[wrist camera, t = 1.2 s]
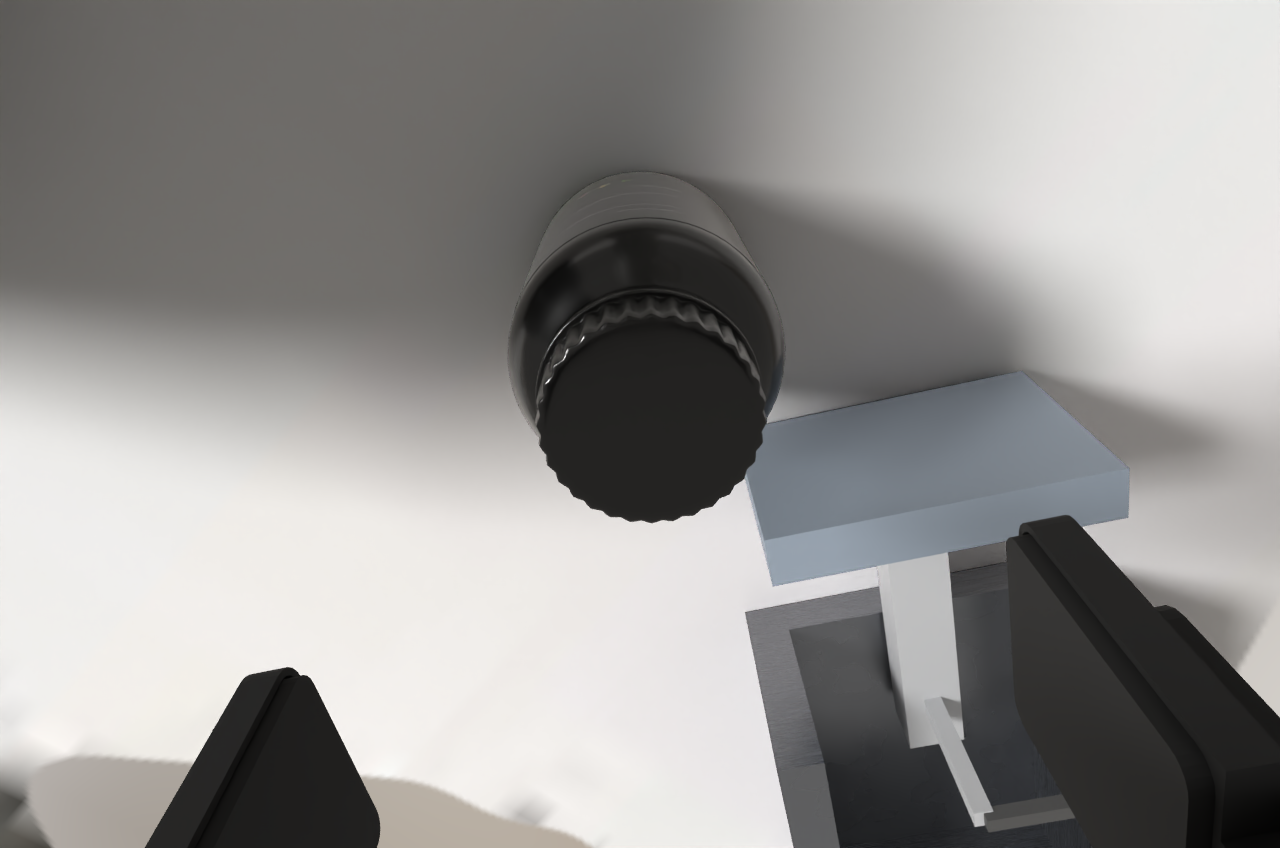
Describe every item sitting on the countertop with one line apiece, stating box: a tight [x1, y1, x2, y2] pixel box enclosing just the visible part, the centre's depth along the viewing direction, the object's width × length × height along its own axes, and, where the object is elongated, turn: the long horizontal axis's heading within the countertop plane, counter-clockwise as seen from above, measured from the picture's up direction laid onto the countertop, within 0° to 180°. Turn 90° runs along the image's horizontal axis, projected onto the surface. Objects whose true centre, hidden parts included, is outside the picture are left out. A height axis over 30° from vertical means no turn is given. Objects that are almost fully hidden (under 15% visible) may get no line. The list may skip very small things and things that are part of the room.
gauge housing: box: [745, 562, 1092, 848], centre depth 33 cm, size 14×12×8 cm
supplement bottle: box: [508, 171, 785, 523], centre depth 23 cm, size 7×7×12 cm
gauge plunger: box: [745, 371, 1129, 832], centre depth 29 cm, size 13×12×9 cm
